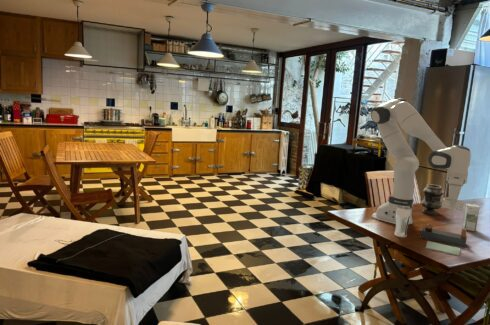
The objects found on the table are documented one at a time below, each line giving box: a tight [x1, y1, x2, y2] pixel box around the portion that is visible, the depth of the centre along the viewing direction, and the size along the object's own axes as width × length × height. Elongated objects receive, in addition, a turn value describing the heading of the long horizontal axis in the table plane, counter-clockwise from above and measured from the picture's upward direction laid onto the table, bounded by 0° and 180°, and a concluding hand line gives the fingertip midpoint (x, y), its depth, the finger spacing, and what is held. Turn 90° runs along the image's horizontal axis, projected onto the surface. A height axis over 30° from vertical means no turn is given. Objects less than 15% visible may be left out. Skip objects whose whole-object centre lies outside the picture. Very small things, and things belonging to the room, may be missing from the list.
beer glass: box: [393, 206, 411, 239], centre depth 186 cm, size 7×7×15 cm
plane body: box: [419, 222, 468, 248], centre depth 183 cm, size 20×7×8 cm, turn 57°
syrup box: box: [462, 202, 480, 232], centre depth 202 cm, size 6×6×14 cm
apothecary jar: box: [420, 183, 444, 216], centre depth 233 cm, size 12×12×18 cm
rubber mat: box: [425, 240, 461, 257], centre depth 172 cm, size 14×10×1 cm
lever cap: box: [441, 196, 465, 212], centre depth 179 cm, size 9×5×5 cm, turn 58°
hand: (452, 205), depth 179 cm, fingers closed on lever cap, 5 cm apart
